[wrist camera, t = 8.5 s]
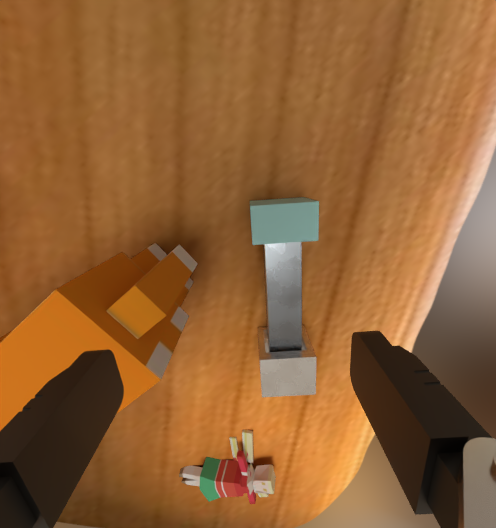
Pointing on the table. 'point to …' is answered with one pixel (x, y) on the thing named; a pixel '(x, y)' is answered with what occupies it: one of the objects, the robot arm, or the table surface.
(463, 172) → the table surface
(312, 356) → the sleeve
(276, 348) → the bar
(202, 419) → the table surface
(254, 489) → the toy
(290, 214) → the socket
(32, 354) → the toy
